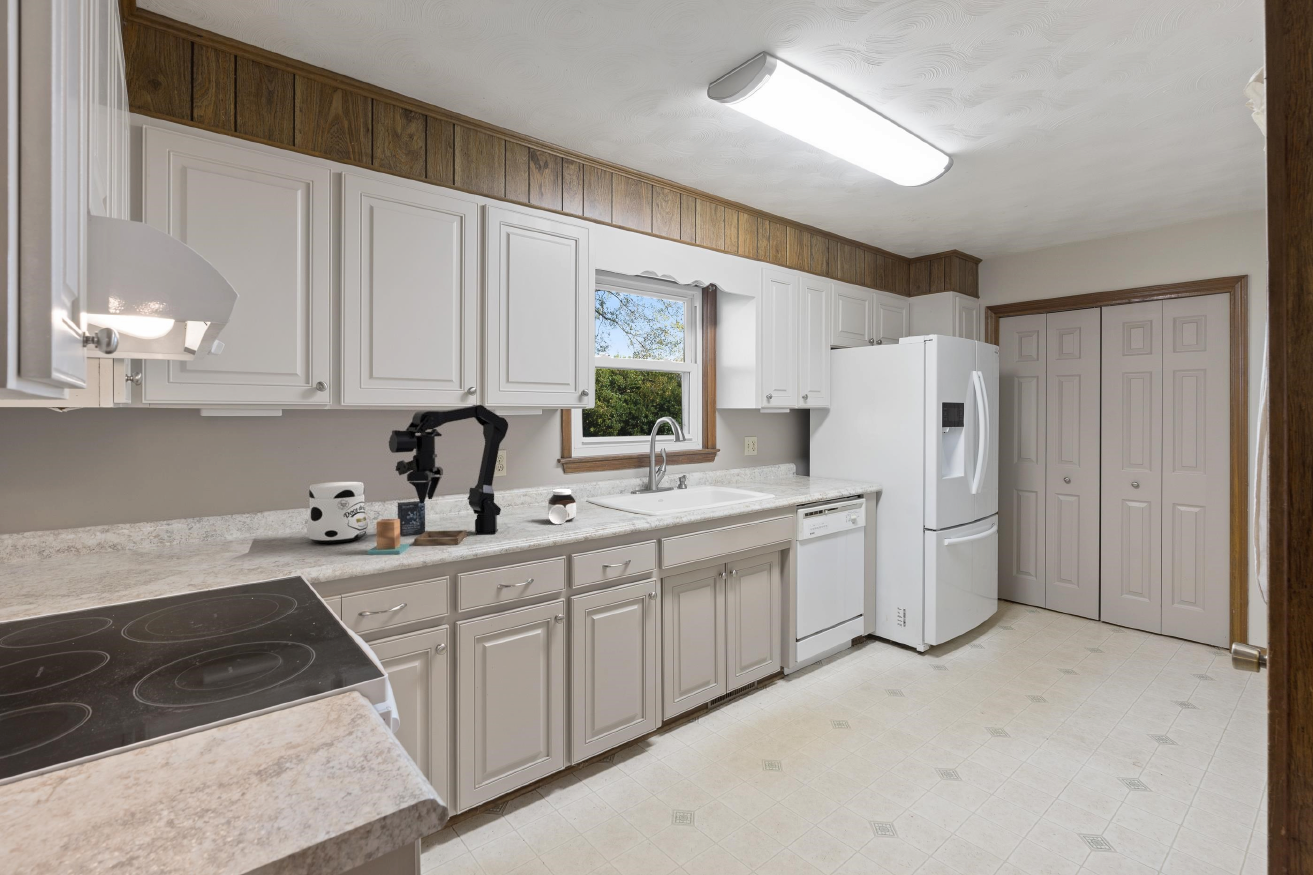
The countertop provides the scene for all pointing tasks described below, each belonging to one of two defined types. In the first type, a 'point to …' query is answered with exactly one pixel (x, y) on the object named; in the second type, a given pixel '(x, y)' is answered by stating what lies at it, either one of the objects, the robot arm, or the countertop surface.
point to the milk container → (336, 512)
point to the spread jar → (561, 506)
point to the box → (411, 517)
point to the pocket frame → (427, 540)
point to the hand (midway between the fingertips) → (426, 501)
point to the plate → (388, 550)
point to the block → (388, 534)
